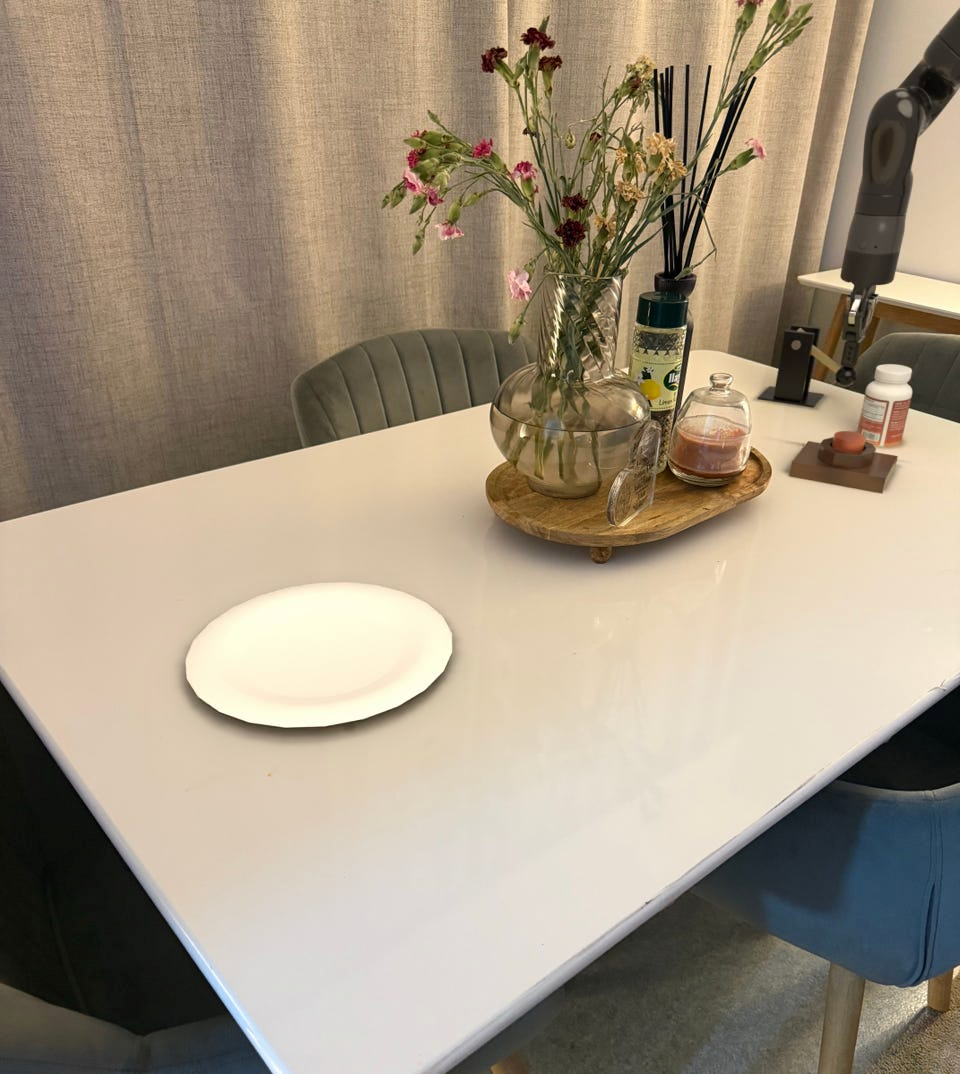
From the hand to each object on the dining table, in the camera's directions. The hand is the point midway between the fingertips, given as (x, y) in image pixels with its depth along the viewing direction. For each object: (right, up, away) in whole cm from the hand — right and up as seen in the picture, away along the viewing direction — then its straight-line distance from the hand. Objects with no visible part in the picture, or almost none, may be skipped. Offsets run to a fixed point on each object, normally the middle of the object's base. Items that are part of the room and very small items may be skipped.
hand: (848, 365), depth 143 cm
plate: (-73, -45, -56) cm, 102 cm away
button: (-8, -17, -20) cm, 28 cm away
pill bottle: (+1, -14, -9) cm, 17 cm away
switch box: (-8, -20, -18) cm, 29 cm away
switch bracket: (-7, -4, +7) cm, 11 cm away
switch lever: (-4, +1, +2) cm, 5 cm away
